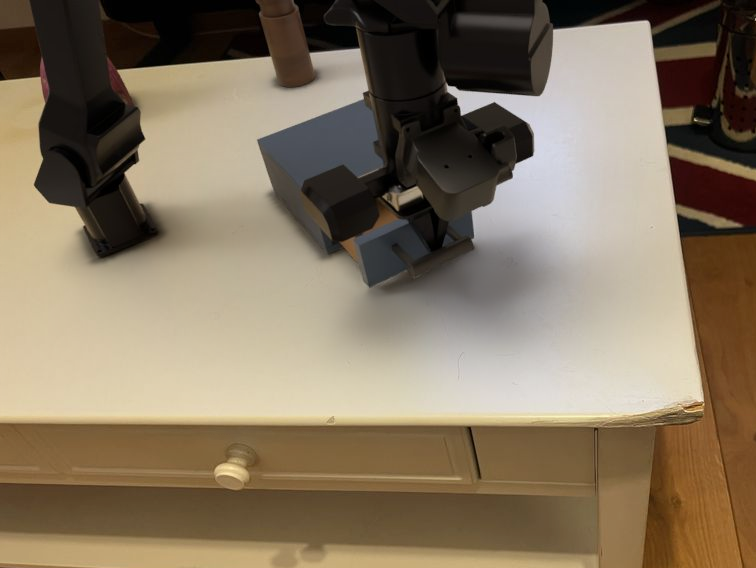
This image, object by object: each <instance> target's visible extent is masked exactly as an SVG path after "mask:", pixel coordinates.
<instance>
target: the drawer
mask: <svg viewBox="0 0 756 568" xmlns="http://www.w3.org/2000/svg"><path fill="white" fill-rule="evenodd" d="M375 201H376V203H377V205H378V210H379V215H380V216H379V218H378V220H377V222H376V223H375V225H374V227H373V228H372V229H370V230H368V231H366V232H364V233H361V234H359V235H357V236H355V237H352V238H350V239H348V240H346V241H344V242H340V243H341V245H342V246H343V248H344V249H345V250H346V251H347V253H348V254H350V256H351V257H352V258H353V259H354V260H355V261H356V262H357V263H358V265H359V266H358V267H359V269H360V273H361V277H362V281H363V283H364V284H365V285H366V286H367V287H368V288H372V287H374V286H376V285H379V284H380V283H383V282H385V281H387V280H389V279H390V278H391V279H392V278H393V277H396V276H398V275H399V274H402V273H403V272H405V271H408V272H409V274H410V276H411V277H412V278H413V279H416V278H418V277H420V276H423V275H425V274H427V273H429V272H431V271H433V270H435V269H438V268H440V267H441V266H443V265H445V264H448V263H450V262H452V261H454V260H456V259H458V258H460V257H462V256H464V255H466V254H468V253H470V252H473V251H474V249H475V245H474V242H473V240H474V238H475V232H474V230H475V229H474V221H473V211H471V212H469V213H466V214H464V215H463V216H462V217H461V218H459V219H457V220H454V221H449V224H448V228H447V231H446V235H445V239H444V242H443V246H442V247H441V248H439V249H437V250H435V251H433V252H431V253H429V252H428V251H427V249H426V248H425V246H424V245H423V243H422V242H421V240H420V239H419V237H418V236H417V235H416V233H415V232H414V230H413V229H412V227H411V226H410V224H409V223H408V221H407V220H402V219H399V218H397V217H396V216H395V215H394V214H393V213H392V212H391V211H390V210H389V209H388V208H386V207H385V206H384V205H383V204H382V203H381V202H380V201H379V200H378V199H375ZM472 239H473V240H472Z"/></svg>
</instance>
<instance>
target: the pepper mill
mask: <svg viewBox="0 0 756 568" xmlns="http://www.w3.org/2000/svg"><path fill="white" fill-rule="evenodd" d="M255 3H256V4H258V5H259V9H260V11H259V13H258V17H259V20H260V24H261V27H262V30H263V33H264V37H265V41H266V45H267V47H268V51H269V55H270V58H271V62H272V66H273V68H274V72H275V75H276V79H277V82H278V84H279V85H280V86H282V87H285V88H297V87H302V86H305V85H307V84H309V83H310V82H311V83H312V81H313V80H314V79H315V78H316V73H315V69H314V66H313V61H312V58H311V53H310V49H309V45H308V41H307V37H306V32H305V28H304V26H303V21H302V17H301V14H300V9H299V6H298V5H297V4H295V2H294V0H255Z"/></svg>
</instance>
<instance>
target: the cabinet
mask: <svg viewBox="0 0 756 568" xmlns="http://www.w3.org/2000/svg"><path fill="white" fill-rule="evenodd" d="M376 140H378V136H377V131H376V126H375V121H374V116H373V111H372V110H371V109H369V108H368V107H367V106H365V102H364V98H363V99H359V100H358V101H355V102H352V103H350V104H346V105H344V106H342V107H339V108H336V109H333V110H331V111H328V112H326V113H324V114H320V115H318V116H315V117H312V118H310V119H307V120H305V121H302V122H300V123H297V124H294V125H292V126H289V127H286V128H284V129H281V130H278V131H276V132H273V133H271V134H268V135H265V136H262V137H260V138H258V139H256V142H257V145H258V149H259V151H260V154H261V157H262V160H263V163H264V167H265V169H266V172H267V176H268V178H269V181H270V184H271V188H272V190H273V193H274V195H275V196H276V198H278V199H279V200H280V201H281V203H282V204H283V206H285V208H287V210H288V211H289V212H290V213H291V214H292V215H293V217H294V218H295V219H296V220H297V221H298V222H299V224H300V225H301V226H302V227H303V228H304V229H305V231H306V232H307V233H308V234H309V235H310V236H311V237H312V238H313V239H314V241H315V242H316V243H317V245H319V247H320V248H321V249H322V250H323V251H324V252H325V253H326V254H327V255H330V254H332V253H334V252H336V251H339V250H341V249H343V248H344V247H343V246H342V245H341V243H340V242H335V241H332V240H331V239H330V238H329V237H328V236H327V235H326V234H325V232H324V231H323V230H322V229H321V228H320V227H319V226H318V225H317V224H316V222H315V221H314V220H313V219H312V218H311V217H310V216H309V215H308V214H307V212H306V211H305V209H304V206H303V203H302V199H301V196H300V191H301V189H302V186H303V183H304V180H306V179H309V178H311V177H313V176H316V175H318V174H321V173H323V172H326V171H328V170H331V169H333V168H335V167H338V166H340V165H343V164H344V165H345V166H346V167H347V168H348V169H349V170H350V171H351V172H352V173H353V174H354V175H355V176H356V177H359V176H362V175H364V174H366V173H369V172H371V171H374V170H376V169H378V168H381V167H383V161H382V159H381V158H380V157H379V156H378V155H377V154H376V153H375V150H374V145H373V142H374V141H376Z"/></svg>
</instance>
